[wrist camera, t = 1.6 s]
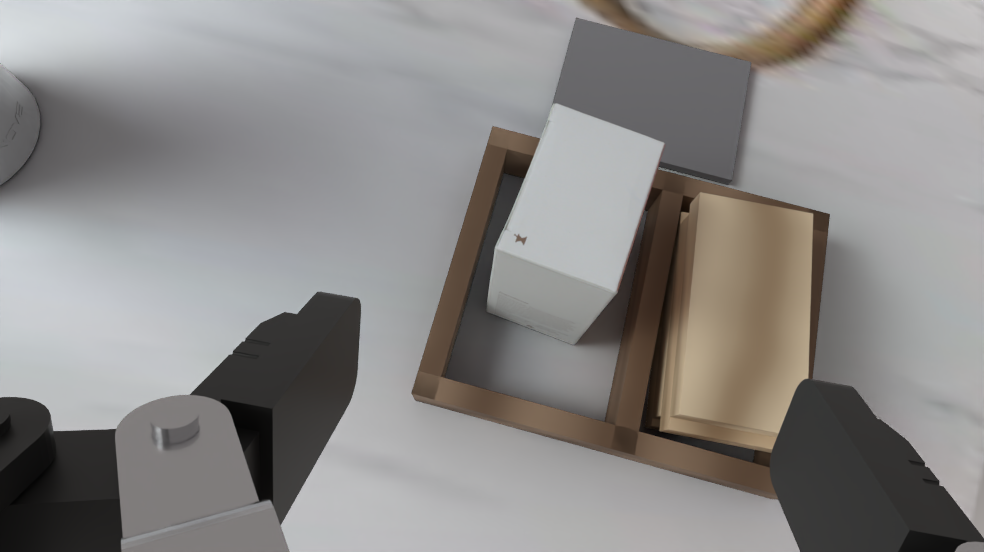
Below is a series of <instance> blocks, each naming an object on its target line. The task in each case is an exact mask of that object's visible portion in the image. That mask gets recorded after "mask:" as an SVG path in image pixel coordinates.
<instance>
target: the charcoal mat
mask: <svg viewBox="0 0 984 552" xmlns="http://www.w3.org/2000/svg"><path fill="white" fill-rule="evenodd" d="M750 67H751V62H748V61H744V60H741V59H737V58H733V57H729V56H725V55H721V54H717V53H713V52H709V51H705V50H701V49H697V48H693V47H689V46H685V45H681V44H678V43H674V42H670V41H666V40H662V39H658V38H654V37H650V36H646V35H642V34H638V33H634V32H630V31H626V30H622V29H618V28H615V27H611V26H607V25H603V24H599V23H595V22H591V21H587V20H583V19H579V18H576V20H575V24H574V28H573V31H572V35H571V39H570V42H569V46H568V50H567V53H566V57H565V61H564V64H563V68H562V72H561V75H560V79H559V82H558V86H557V90H556V93H555V97H554V101H553V104H555V103H557V104H560V105H563V106H565V107H568V108H571V109H574V110H576V111H579V112H582V113H584V114H587V115H590V116H593V117H595V118H598V119H601V120H604V121H606V122H609V123H612V124H615V125H618V126H620V127H623V128H626V129H628V130H631V131H634V132H637V133H640V134H642V135H645V136H648V137H650V138H653V139H655V140H658V141H661V142H664V143H665V144H666V145H665V148H664V151H663V154H662V157H661V160H660V163H659V167H663V168H667V169H671V170H675V171H678V172H682V173H686V174H690V175H694V176H698V177H701V178H705V179H709V180H713V181H717V182H721V183H724V184H729V183H730V182H731V181H732V178H733V172H734V165H735V159H736V153H737V147H738V141H739V135H740V129H741V122H742V116H743V110H744V104H745V98H746V92H747V85H748V79H749V73H750ZM553 104H552V106H553Z"/></svg>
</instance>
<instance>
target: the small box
mask: <svg viewBox="0 0 984 552" xmlns="http://www.w3.org/2000/svg"><path fill="white" fill-rule="evenodd" d="M665 145H666V144H665V143H664V142H661V141H658V140H655V139H653V138H650V137H648V136H645V135H642V134H640V133H637V132H634V131H631V130H628V129H626V128H623V127H620V126H618V125H615V124H612V123H609V122H606V121H604V120H601V119H598V118H595V117H593V116H590V115H587V114H584V113H582V112H579V111H576V110H574V109H571V108H568V107H565V106H563V105H560V104H557V103H555V104H553V106H552V108H551V111H550V114H549V117H548V120H547V123H546V126H545V129H544V131H543V134H542V136H541V139H540V142H539V144H538V147H537V149H536V152H535V154H534V157H533V159H532V162H531V164H530V167H529V169H528V172H527V174H526V177H525V179H524V182H523V184H522V187H521V189H520V191H519V194H518V196H517V199H516V201H515V204H514V206H513V209H512V211H511V213H510V216H509V218H508V220H507V222H506V224H505V227H504V229H503V231H502V233H501V235H500V238H499V240H498V242H497V244H496V246H495V251H494V258H493V266H492V271H491V277H490V284H489V291H488V298H487V307H486V311H487V312H488V313H491V314H494V315H496V316H499V317H502V318H504V319H507V320H509V321H512V322H515V323H517V324H520V325H522V326H525V327H527V328H530V329H533V330H535V331H538V332H540V333H543V334H546V335H548V336H551V337H554V338H556V339H559V340H561V341H564V342H567V343H569V344H572V345H575V344H576V343H577V341H578V340H579V339H580V338H581V337H582V335H583V334H584V333H585V332H586V331H587V329H588V328H589V327H590V325H591V324H592V323H593V322H594V321H595V319H596V318H597V317H598V316H599V314H600V313H601V312H602V311H603V309H604V308H605V307H606V306H607V304H608V303H609V302H610V301H611V300H612V298H613V297H614V296H615V295H616V294H617V293H618V290H619V287H620V283H621V280H622V277H623V274H624V271H625V268H626V265H627V262H628V259H629V256H630V253H631V250H632V247H633V244H634V241H635V237H636V234H637V231H638V228H639V225H640V222H641V219H642V216H643V213H644V210H645V207H646V203H647V200H648V197H649V194H650V191H651V188H652V185H653V182H654V179H655V176H656V173H657V170H658V167H659V163H660V160H661V157H662V154H663V151H664V148H665Z"/></svg>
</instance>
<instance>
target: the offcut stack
mask: <svg viewBox="0 0 984 552" xmlns="http://www.w3.org/2000/svg"><path fill="white" fill-rule="evenodd" d="M812 239H813V213H808V212H802V211H797V210H792V209H786V208H781V207H776V206H770V205H765V204H760V203H755V202H749V201H744V200H739V199H733V198H728V197H723V196H718V195H712V194H707V193H702V192H700V193H699V194H698V195H697V196H696V198H695V199H694V200H693V201H692V202H691V204H690V211H689V213H686V212H681V213H680V215H679V221H678V226H677V231H676V237H675V242H674V247H673V252H672V258H671V263H670V268H669V274H668V279H667V284H666V290H665V295H664V300H663V306H662V311H661V316H660V322H659V327H658V332H657V338H656V343H655V348H654V354H653V359H652V365H651V374H650V383H649V393H648V402H647V411H646V420H645V427H646V428H651V429H656V430H659V431H660V432H666V433H671V434H676V435H681V436H686V437H691V438H697V439H702V440H707V441H712V442H717V443H722V444H728V445H733V446H738V447H743V448H748V449H753V450H759V451H764V452H769V453H772V449H773V446H774V444H775V441H776V438H777V436H778V433H779V431H780V428H781V426H782V423H783V421H784V418H785V416H786V413H787V411H788V408H789V405H790V403H791V400H792V398H793V395H794V393H795V390H796V388H797V386H798V385H799V384H800V382H801V381H803V380H804V379H808V373H809V339H810V306H811V272H812Z"/></svg>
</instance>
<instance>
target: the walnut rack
mask: <svg viewBox="0 0 984 552" xmlns="http://www.w3.org/2000/svg"><path fill="white" fill-rule="evenodd" d="M539 142H540V138H536V137H532V136H528V135H524V134H521V133H517V132H513V131H509V130H505V129H501V128H498V127H494V126H493V127H492V130H491V133H490V137H489V140H488V143H487V146H486V150H485V153H484V156H483V160H482V163H481V166H480V169H479V173H478V176H477V179H476V183H475V186H474V189H473V193H472V196H471V199H470V202H469V206H468V209H467V212H466V216H465V219H464V222H463V225H462V229H461V232H460V235H459V239H458V242H457V245H456V248H455V252H454V255H453V258H452V262H451V265H450V268H449V271H448V275H447V278H446V281H445V285H444V288H443V291H442V294H441V298H440V301H439V304H438V308H437V311H436V314H435V317H434V321H433V324H432V327H431V331H430V334H429V337H428V341H427V344H426V347H425V350H424V354H423V357H422V360H421V364H420V367H419V370H418V373H417V377H416V380H415V383H414V387H413V390H412V393H411V394H412V395H413V397H414V399H415V400H416V401H420V402H423V403H427V404H431V405H434V406H438V407H441V408H445V409H449V410H452V411H456V412H460V413H463V414H467V415H470V416H474V417H478V418H481V419H485V420H488V421H492V422H496V423H499V424H503V425H506V426H510V427H514V428H517V429H521V430H524V431H528V432H532V433H535V434H539V435H543V436H546V437H550V438H553V439H557V440H561V441H564V442H568V443H571V444H575V445H579V446H582V447H586V448H589V449H593V450H597V451H600V452H604V453H607V454H611V455H615V456H618V457H622V458H626V459H629V460H633V461H636V462H640V463H644V464H647V465H651V466H654V467H658V468H662V469H665V470H669V471H672V472H676V473H680V474H683V475H687V476H691V477H694V478H698V479H701V480H705V481H709V482H712V483H716V484H719V485H723V486H727V487H730V488H734V489H737V490H741V491H745V492H748V493H752V494H755V495H759V496H763V497H766V498H770V499H778V497H777V495H776V492H775V490H774V488H773V485H772V482H771V477H770V458H771V453H769V452H764V451H759V450H755V451H754V459H753V463H752V462H748V461H744V460H741V459H737V458H733V457H730V456H726V455H723V454H719V453H715V452H712V451H708V450H704V449H701V448H697V447H694V446H690V445H686V444H683V443H679V442H675V441H672V440H668V439H664V438H661V437H657V436H654V435H650V434H646V433H643V432H639V428H640V423H641V417H642V412H643V407H644V401H645V396H646V391H647V385H648V380H649V375H650V370H651V364H652V359H653V354H654V348H655V343H656V338H657V332H658V327H659V322H660V316H661V311H662V306H663V300H664V295H665V290H666V284H667V279H668V274H669V268H670V263H671V258H672V252H673V247H674V242H675V237H676V231H677V226H678V221H679V215H680V213H681V212H686V213H689V211H690V204H691V202H692V201H693V200H694V199H695V198H696V196H697V195H698V194H699V193H700V192H702V193H707V194H712V195H718V196H723V197H728V198H733V199H739V200H744V201H749V202H755V203H760V204H765V205H770V206H776V207H781V208H786V209H792V210H797V211H802V212H808V213H813V239H812V272H811V306H810V339H809V373H808V379H812V377H813V367H814V358H815V349H816V339H817V330H818V320H819V311H820V302H821V292H822V283H823V273H824V264H825V255H826V245H827V236H828V226H829V217H830V214H827V213H823V212H819V211H816V210H812V209H808V208H804V207H800V206H796V205H793V204H789V203H785V202H781V201H777V200H773V199H770V198H766V197H762V196H758V195H754V194H750V193H747V192H743V191H739V190H735V189H731V188H727V187H724V186H720V185H716V184H712V183H708V182H704V181H701V180H697V179H693V178H689V177H685V176H681V175H678V174H674V173H670V172H666V171H662V170H657V173H656V176H655V179H654V182H653V185H652V188H651V191H650V194H649V197H648V200H647V203H646V207H645V210H647V211H648V213H647V218H646V222H645V227H644V232H643V237H642V242H641V247H640V252H639V256H638V261H637V266H636V271H635V276H634V281H633V286H632V290H631V295H630V300H629V305H628V310H627V315H626V320H625V325H624V329H623V334H622V339H621V344H620V349H619V354H618V359H617V363H616V368H615V373H614V378H613V383H612V388H611V393H610V397H609V402H608V407H607V412H606V417H605V422H603V421H599V420H595V419H592V418H588V417H585V416H581V415H577V414H574V413H570V412H566V411H563V410H559V409H556V408H552V407H548V406H545V405H541V404H537V403H534V402H530V401H526V400H523V399H519V398H516V397H512V396H508V395H505V394H501V393H497V392H494V391H490V390H487V389H483V388H479V387H476V386H472V385H468V384H465V383H461V382H458V381H454V380H450V379H447V378H445V374H446V371H447V368H448V364H449V361H450V357H451V354H452V350H453V347H454V343H455V340H456V336H457V333H458V330H459V326H460V323H461V319H462V316H463V312H464V309H465V305H466V302H467V299H468V295H469V292H470V288H471V285H472V281H473V278H474V274H475V271H476V267H477V264H478V261H479V257H480V254H481V250H482V247H483V243H484V240H485V236H486V233H487V230H488V226H489V223H490V219H491V216H492V212H493V209H494V205H495V202H496V198H497V195H498V192H499V188H500V185H501V181H502V178H503V174H504V173H506V174H510V175H514V176H518V177H522V178H525V177H526V174H527V172H528V169H529V167H530V164H531V162H532V159H533V157H534V154H535V152H536V149H537V147H538V144H539Z"/></svg>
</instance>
